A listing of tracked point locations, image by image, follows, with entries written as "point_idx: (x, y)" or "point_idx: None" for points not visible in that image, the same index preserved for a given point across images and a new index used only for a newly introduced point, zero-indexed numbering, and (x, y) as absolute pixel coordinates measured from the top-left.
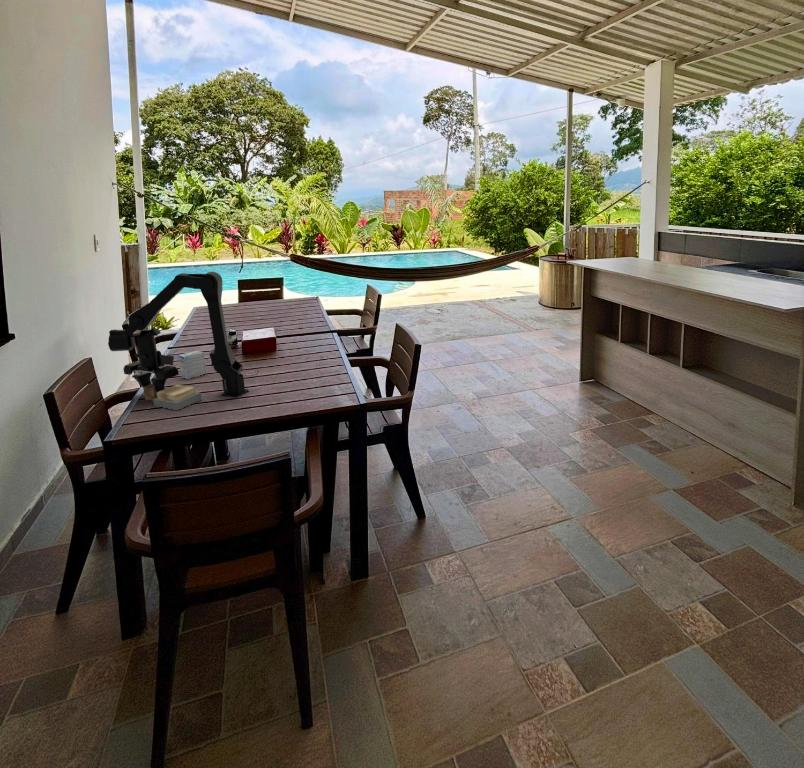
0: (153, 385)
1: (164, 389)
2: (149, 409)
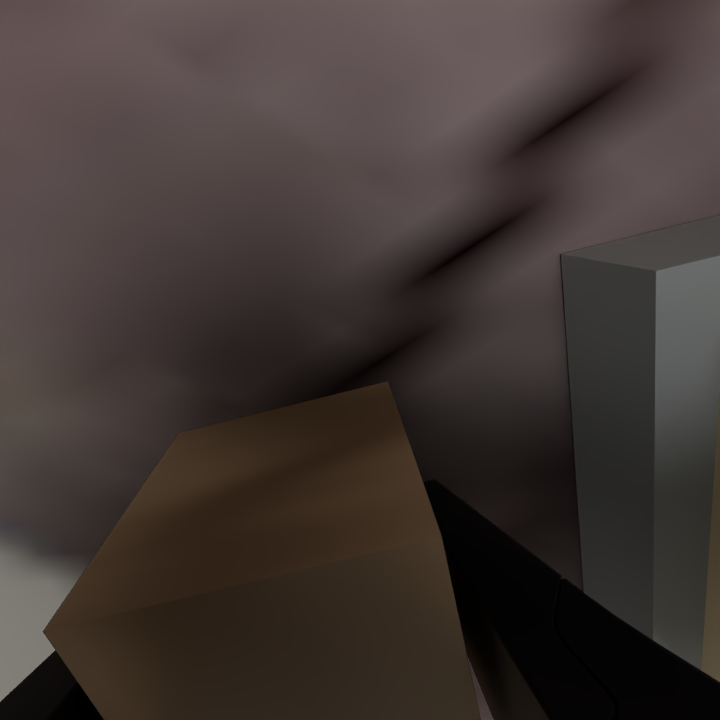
0: (288, 713)
1: (413, 460)
2: None
